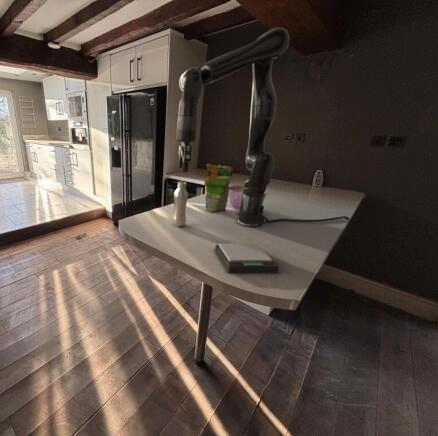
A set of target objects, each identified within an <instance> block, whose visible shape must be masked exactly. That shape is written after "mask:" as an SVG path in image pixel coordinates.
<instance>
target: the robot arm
mask: <svg viewBox="0 0 438 436" xmlns="http://www.w3.org/2000/svg"><path fill="white" fill-rule="evenodd" d="M289 45H290V34H289V32H288V30H287V29H286V28H284V27H279V26H278V27H274V28H271V29H269V30H268V31H266V32H265V33H263V34H262V35H260V36H259V37H258V38H257V39H256V40H254V41H252V42H250V43H249V44H247V45H245V46H242V47H240V48H237V49H235V50H233V51H230V52H227V53H224V54H222V55H220V56H217V57H215V58H213V59H211V60H209V61H206V62H205V63H204V64H202V65H200V66H197V67H191V68H188V69H187V70H186V71H184V73H182V74H181V76H180V78H179V81H178V85H179V88H180V90H181V91H182V96H181V100H180V101H179V107H178V117H177V124H176V126H177V127H176V138H175V139H176V140H175V141H176V142H179V143H178V146H179V147H178V155H177V156H178V159H179V160H178V168H179V169H181V171H182V172H183V173H188V172H189V165H190V163H191V161H192V149H193V146H192V145H190V143H194V142H195V141H196V134H197V125H198V117H197V116H198V109H199V108H198V107H199V102H200V97H201V93H202V88H203V87H204V86H206V85H208V84H212V83H216V82H217V81H220V80H222V79H224V78H226V77H229V76H230V75H232V74H234V73H236V72H238V71H241V70H242V69H244V68H247V67H248V66H251V65H252V89H251V103H250V104H251V105H250V115H249V116H250V118H249V119H250V120H249V121H250V122H249V123H250V124H249V132H248V133H249V136H248V143H247V150H246V155H245V166H246V168H247V170H248V171H250V172H251V173H250V176H249V179H247V180H245V181H244V184H243V185H244V189H243V195H242V200H241V205H240V211H238V213H237V214H238V215H237V220H236V221H237V223H238V224H239V225H242V226H244V227H251V228H252V227H254V228H255V227H258V226H261V223H275V222H280V221H281V222H283V221H284V222H302V223H303V222H304V223H305V222H306V223H307V222H308V223H309V222H310V223H312V222H315V223H316V222H328V221H333V220H334V221H335V220H340V219H346V220H350V218H349V217H348V216H346V215H342V216H337V217H336V216H335V217H329V218H322V219H293V218H275V219H272V220H269V219H268V217H266V216H265V215H263V214H264V209H265V206H264V205H263V203H264V201H265V199H264V196H265V191H267V187H268V186H269V184H270V182H271V179H272V175H273V172H274V169H275V167H274V166H275V157H274V155H273V154H272V153H270V152H266V140H267V136H268V134H269V132H270V130H271V128H272V127H273V126H272V125H273V124H274V121H275V117H276V114H277V103H278V97H277V92H276V89H275V86H274V82H273V78H272V77H273V76H272V73H273V72H272V71H273V63H274V60H276V59H278V58H280V57H281V56H282V55H283V54H284V53H285V52H286V50H287V49H288V47H289ZM263 200H264V201H263Z"/></svg>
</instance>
